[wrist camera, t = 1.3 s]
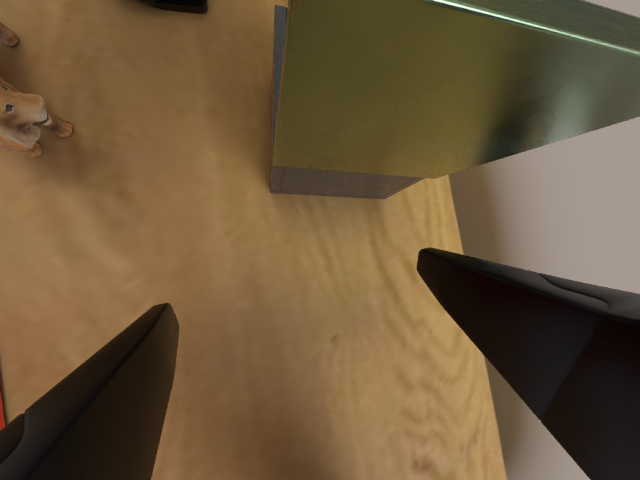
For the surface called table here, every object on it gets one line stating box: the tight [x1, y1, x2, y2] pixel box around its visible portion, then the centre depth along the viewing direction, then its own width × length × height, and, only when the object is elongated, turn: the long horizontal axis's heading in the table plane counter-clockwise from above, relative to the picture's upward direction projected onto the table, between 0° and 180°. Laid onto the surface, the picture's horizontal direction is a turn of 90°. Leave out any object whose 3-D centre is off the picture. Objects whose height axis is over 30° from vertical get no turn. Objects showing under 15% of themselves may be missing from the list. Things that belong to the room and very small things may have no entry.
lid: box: [273, 0, 640, 179], centre depth 11 cm, size 12×12×1 cm
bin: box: [270, 5, 424, 199], centre depth 21 cm, size 11×12×7 cm
